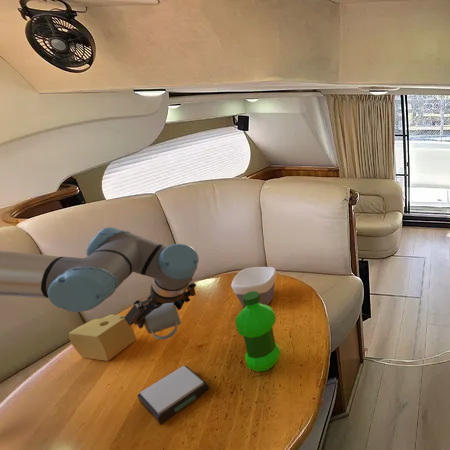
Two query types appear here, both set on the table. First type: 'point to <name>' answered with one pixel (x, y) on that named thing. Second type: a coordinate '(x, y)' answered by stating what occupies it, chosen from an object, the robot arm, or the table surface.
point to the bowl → (255, 283)
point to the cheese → (102, 337)
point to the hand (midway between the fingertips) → (158, 314)
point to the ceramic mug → (162, 320)
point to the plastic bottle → (258, 333)
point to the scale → (172, 393)
